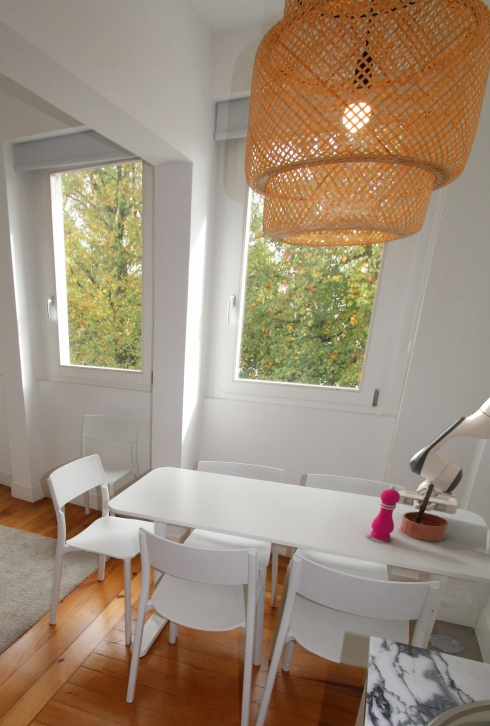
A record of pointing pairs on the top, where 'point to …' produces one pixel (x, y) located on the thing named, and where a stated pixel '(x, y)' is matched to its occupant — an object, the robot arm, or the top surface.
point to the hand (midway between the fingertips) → (423, 507)
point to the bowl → (424, 526)
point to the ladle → (424, 503)
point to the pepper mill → (385, 515)
